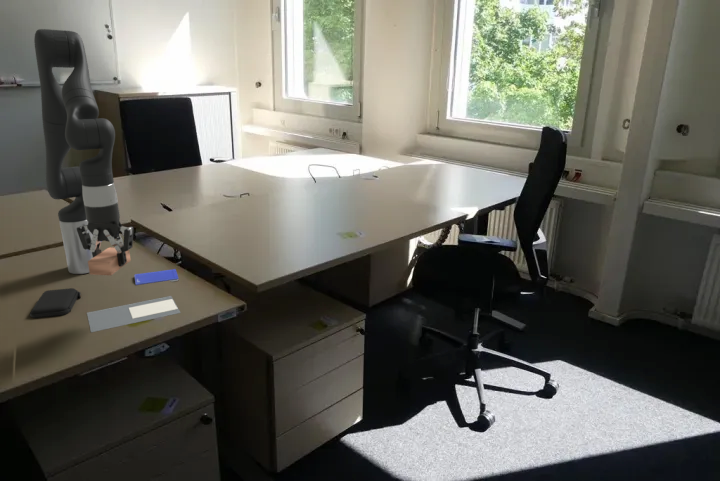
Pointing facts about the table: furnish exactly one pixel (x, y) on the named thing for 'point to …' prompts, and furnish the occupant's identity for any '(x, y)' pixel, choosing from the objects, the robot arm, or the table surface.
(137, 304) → the mat
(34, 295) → the table surface
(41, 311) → the carrying case or bag
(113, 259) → the block
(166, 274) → the hard drive
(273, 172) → the table surface
